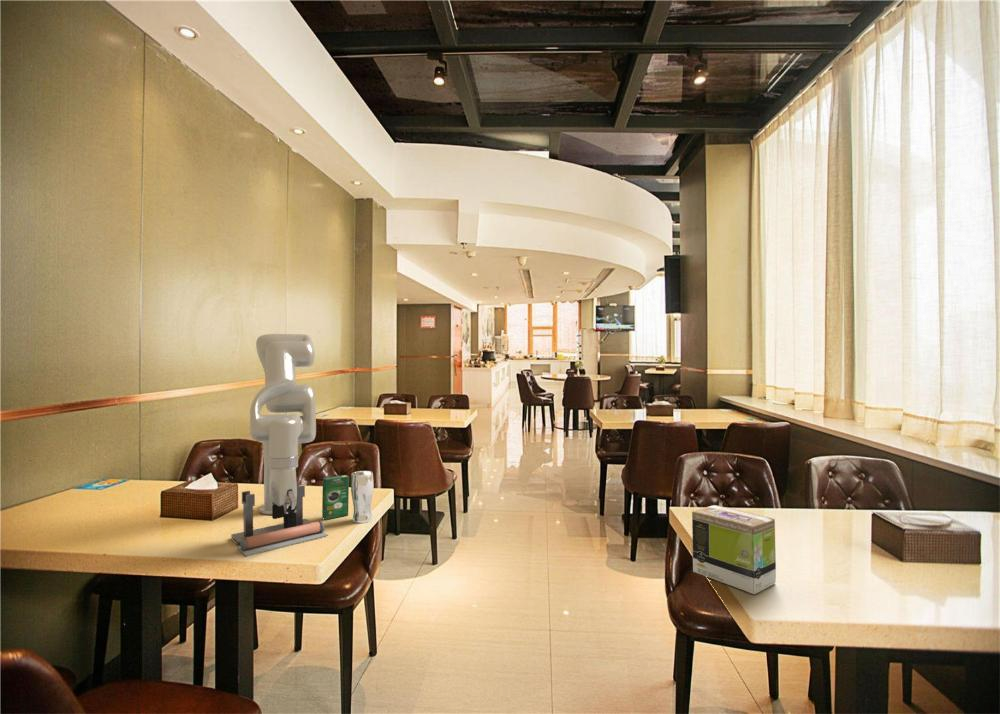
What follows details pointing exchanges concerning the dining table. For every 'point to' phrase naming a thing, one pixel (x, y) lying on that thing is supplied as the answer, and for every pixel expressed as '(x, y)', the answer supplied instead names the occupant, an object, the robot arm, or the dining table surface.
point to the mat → (281, 544)
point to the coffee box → (335, 497)
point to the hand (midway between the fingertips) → (283, 522)
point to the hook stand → (248, 504)
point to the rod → (281, 535)
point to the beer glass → (362, 495)
